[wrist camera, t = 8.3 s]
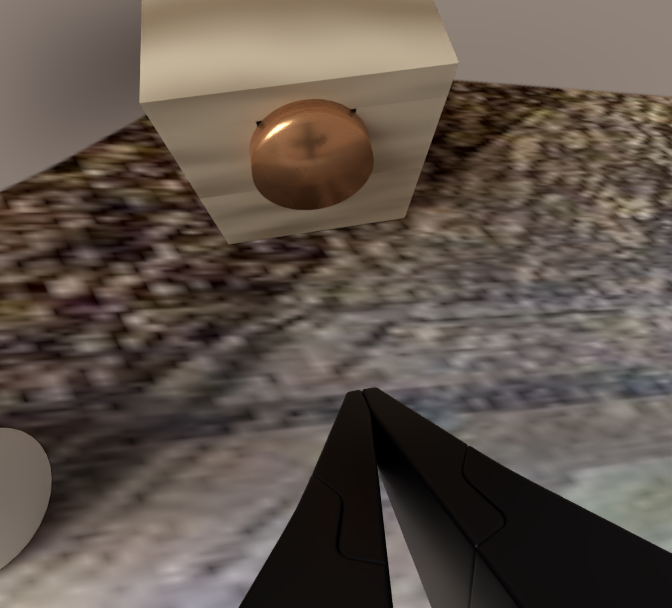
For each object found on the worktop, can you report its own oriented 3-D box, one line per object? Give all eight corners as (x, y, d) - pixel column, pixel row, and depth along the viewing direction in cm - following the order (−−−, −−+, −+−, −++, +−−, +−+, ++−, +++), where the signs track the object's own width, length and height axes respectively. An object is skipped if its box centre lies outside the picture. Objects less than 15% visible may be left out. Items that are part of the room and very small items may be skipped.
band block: (404, 218, 23) (458, 62, 13) (228, 244, 22) (139, 103, 12) (380, 128, 25) (408, -61, 15) (221, 149, 24) (142, -33, 14)
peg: (367, 201, 18) (381, 113, 13) (265, 216, 18) (235, 132, 12) (339, 80, 21) (340, -34, 16) (250, 91, 21) (221, -21, 15)
